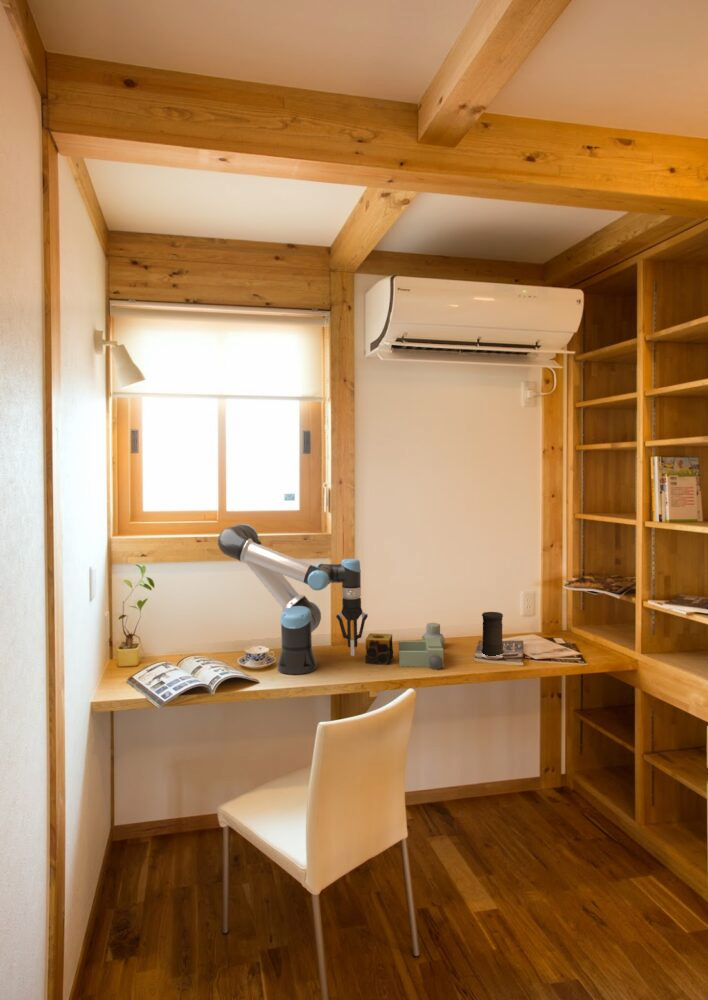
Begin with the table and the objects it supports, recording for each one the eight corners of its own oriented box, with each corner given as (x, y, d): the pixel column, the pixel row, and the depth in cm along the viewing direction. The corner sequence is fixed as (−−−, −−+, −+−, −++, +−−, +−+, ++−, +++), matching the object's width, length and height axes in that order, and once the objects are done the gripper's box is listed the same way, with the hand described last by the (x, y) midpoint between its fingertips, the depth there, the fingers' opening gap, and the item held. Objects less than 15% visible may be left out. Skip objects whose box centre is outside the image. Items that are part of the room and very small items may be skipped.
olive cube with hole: (390, 665, 256) (389, 640, 256) (364, 664, 259) (364, 639, 258) (393, 657, 266) (393, 633, 266) (369, 656, 268) (369, 632, 268)
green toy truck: (399, 669, 251) (399, 649, 250) (398, 652, 273) (398, 634, 273) (443, 669, 250) (443, 649, 249) (439, 652, 272) (439, 634, 272)
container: (507, 656, 266) (507, 613, 265) (497, 661, 259) (497, 617, 258) (487, 652, 272) (488, 610, 271) (477, 657, 265) (477, 614, 264)
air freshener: (445, 650, 276) (445, 627, 276) (427, 651, 275) (426, 627, 275) (439, 643, 287) (439, 620, 286) (421, 644, 286) (420, 621, 285)
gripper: (334, 599, 258) (335, 657, 260) (367, 599, 258) (368, 657, 259) (336, 595, 266) (337, 652, 267) (368, 595, 265) (369, 652, 266)
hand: (352, 654), depth 263 cm, fingers closed
